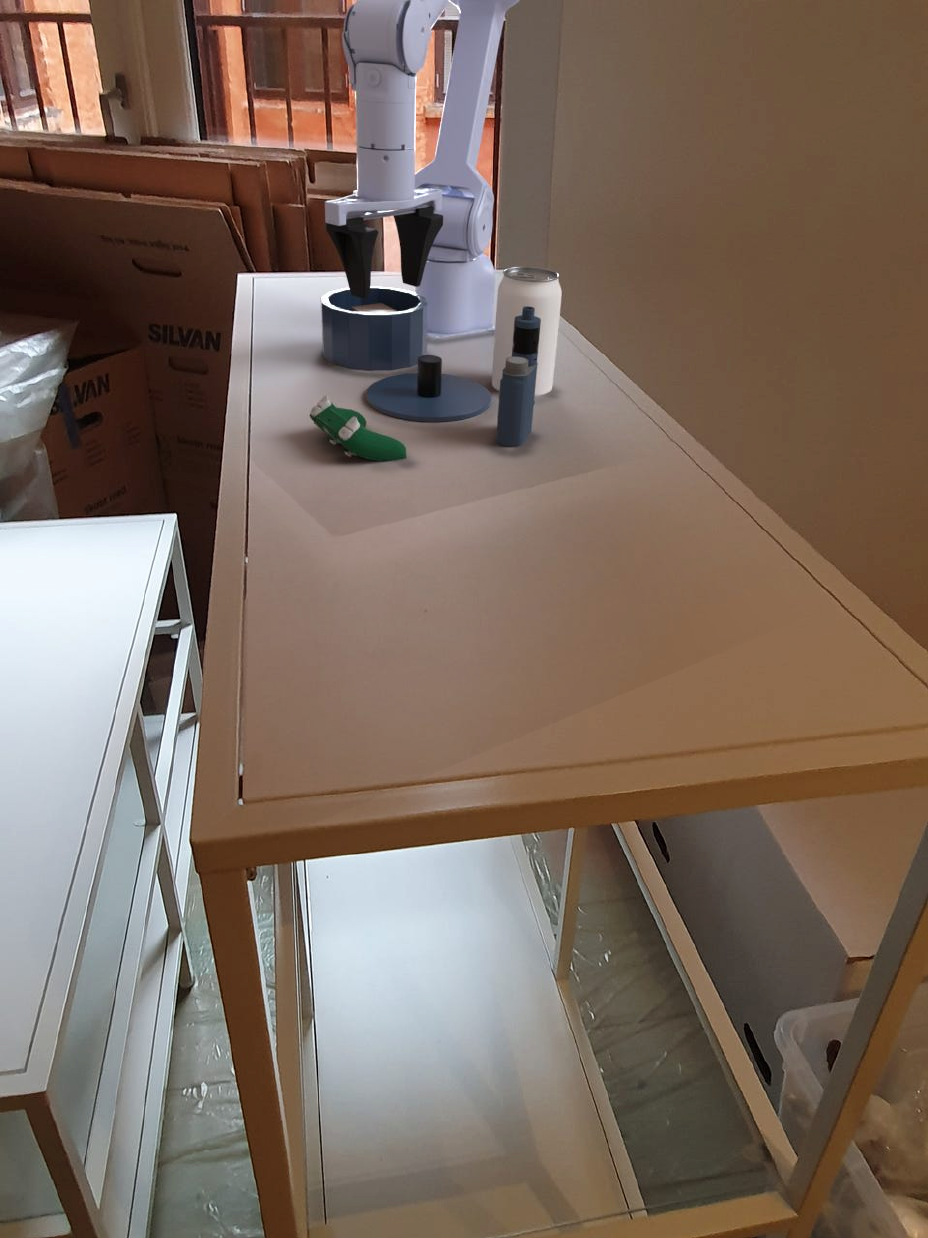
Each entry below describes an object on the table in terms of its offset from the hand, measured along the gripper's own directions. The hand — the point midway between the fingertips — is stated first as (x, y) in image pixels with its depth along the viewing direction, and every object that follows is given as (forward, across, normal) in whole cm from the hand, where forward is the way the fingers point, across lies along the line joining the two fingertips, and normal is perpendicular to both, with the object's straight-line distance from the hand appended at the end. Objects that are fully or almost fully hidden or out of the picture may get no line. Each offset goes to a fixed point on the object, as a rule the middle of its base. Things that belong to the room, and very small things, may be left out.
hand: (386, 290), depth 97 cm
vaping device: (+9, +6, +23) cm, 25 cm away
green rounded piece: (+9, +18, +14) cm, 24 cm away
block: (+8, -2, -3) cm, 9 cm away
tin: (+8, -1, -3) cm, 9 cm away
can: (+9, -6, +14) cm, 18 cm away
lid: (+8, +4, +11) cm, 14 cm away
